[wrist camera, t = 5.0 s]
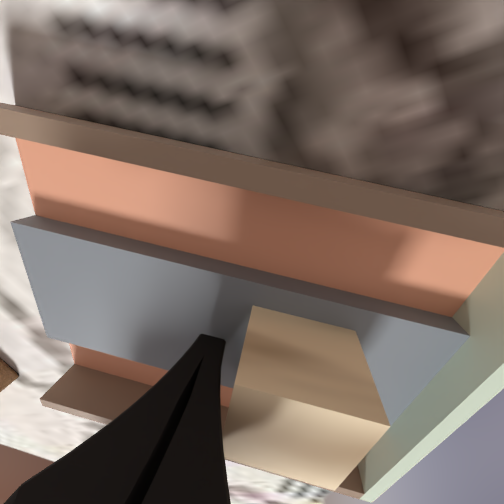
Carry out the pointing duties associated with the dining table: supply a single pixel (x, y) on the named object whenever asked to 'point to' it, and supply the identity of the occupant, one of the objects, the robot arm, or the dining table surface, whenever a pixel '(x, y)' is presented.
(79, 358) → the box
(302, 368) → the maple block
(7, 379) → the candle holder
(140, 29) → the dining table surface
